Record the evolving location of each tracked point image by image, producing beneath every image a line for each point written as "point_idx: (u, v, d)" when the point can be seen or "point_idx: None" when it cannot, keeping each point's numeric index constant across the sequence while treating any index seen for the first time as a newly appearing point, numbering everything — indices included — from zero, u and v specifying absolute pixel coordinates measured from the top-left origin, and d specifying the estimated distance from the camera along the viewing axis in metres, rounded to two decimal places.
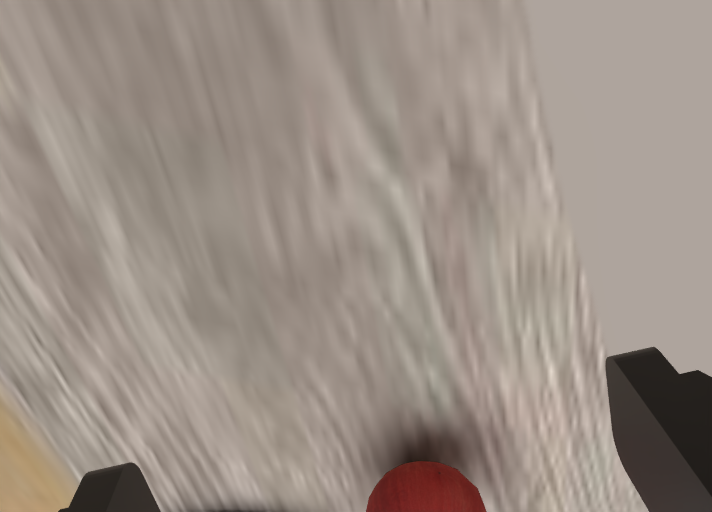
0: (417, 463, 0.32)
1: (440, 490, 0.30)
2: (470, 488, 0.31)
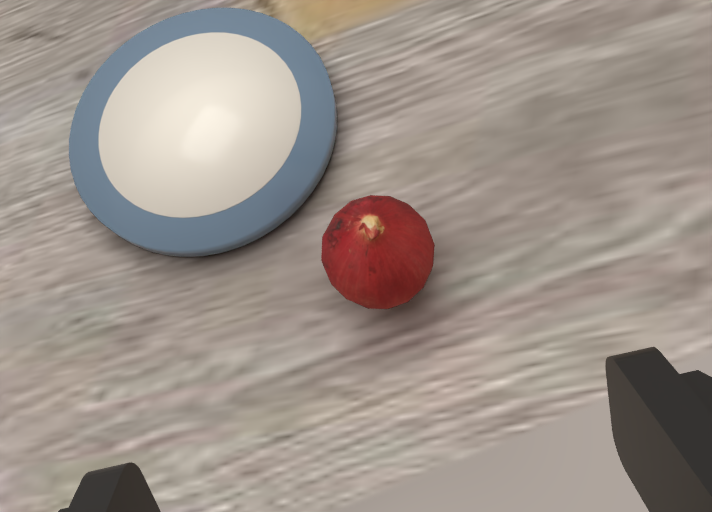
0: None
1: (431, 253, 0.34)
2: (420, 287, 0.34)
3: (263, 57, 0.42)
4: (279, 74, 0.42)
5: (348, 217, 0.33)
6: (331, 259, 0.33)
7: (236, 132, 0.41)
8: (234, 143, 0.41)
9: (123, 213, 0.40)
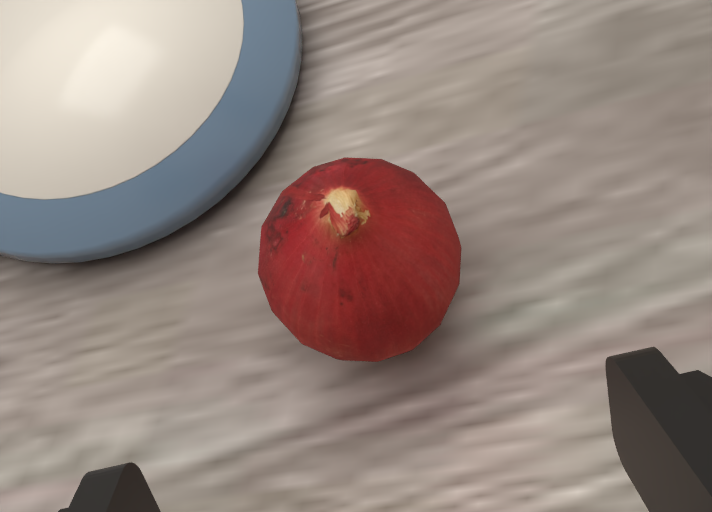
0: None
1: (456, 264, 0.19)
2: (434, 325, 0.19)
3: None
4: None
5: (302, 195, 0.17)
6: (272, 272, 0.18)
7: (139, 64, 0.25)
8: (135, 81, 0.25)
9: None
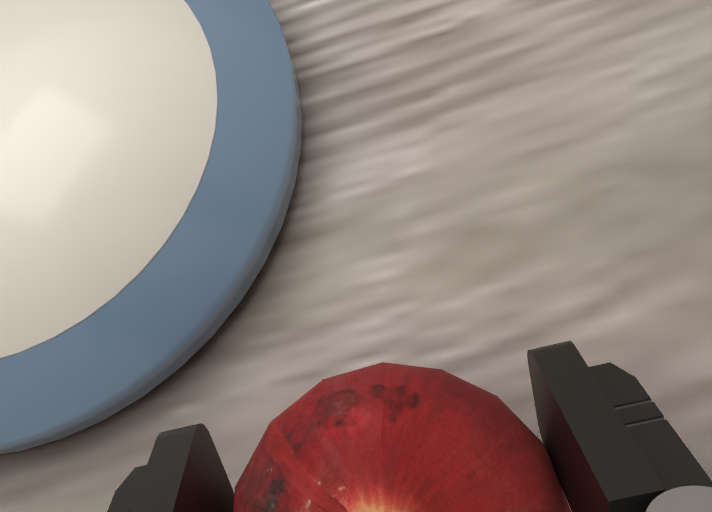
0: None
1: None
2: None
3: None
4: (174, 30, 0.19)
5: (306, 484, 0.09)
6: None
7: (67, 161, 0.18)
8: (60, 187, 0.17)
9: None
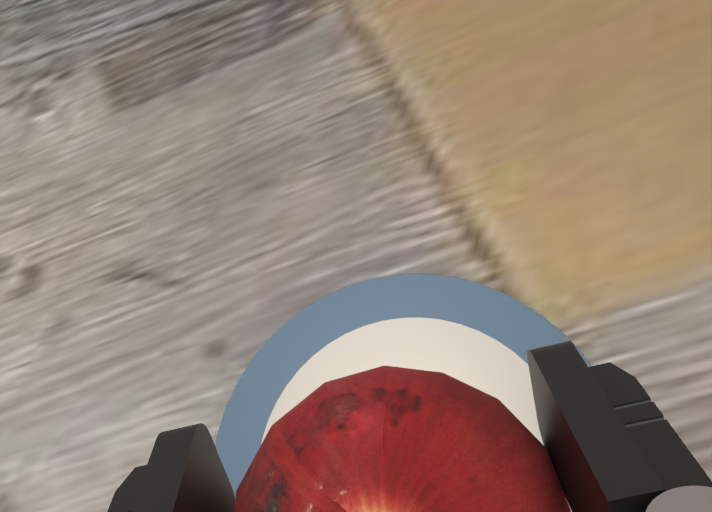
0: None
1: None
2: None
3: (509, 369, 0.28)
4: None
5: (307, 487, 0.09)
6: None
7: None
8: None
9: None
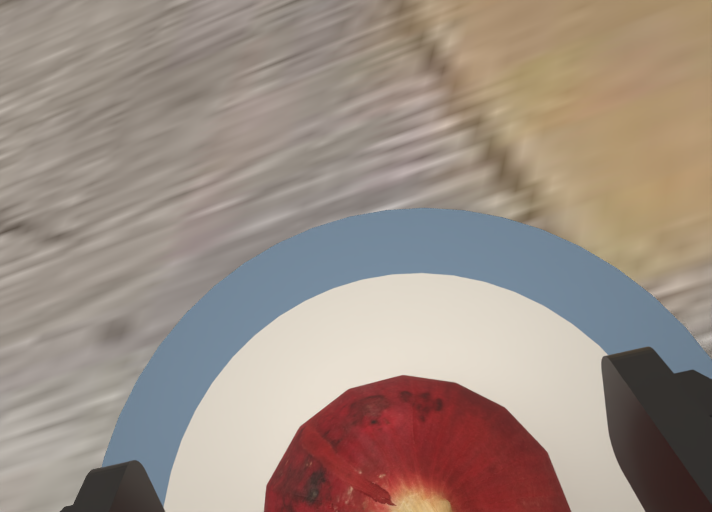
0: None
1: None
2: None
3: (565, 352, 0.17)
4: None
5: (347, 473, 0.10)
6: None
7: None
8: None
9: None
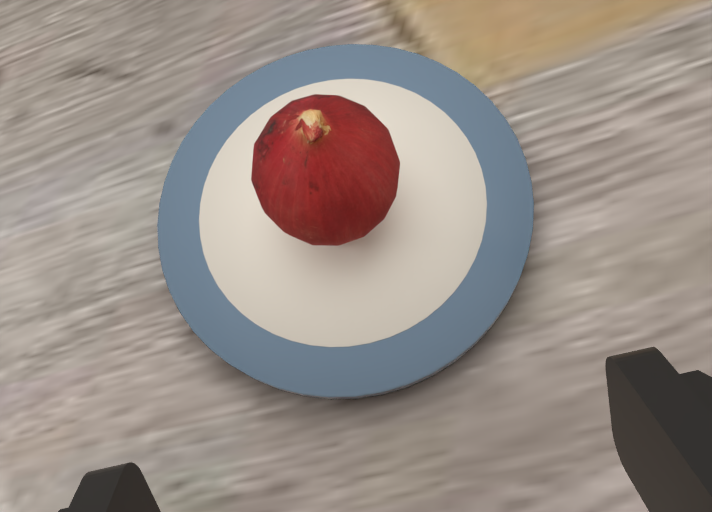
0: None
1: (395, 172, 0.26)
2: (379, 217, 0.26)
3: (425, 115, 0.31)
4: (449, 140, 0.31)
5: (284, 117, 0.24)
6: (261, 174, 0.25)
7: (396, 223, 0.30)
8: (394, 239, 0.29)
9: (241, 337, 0.29)
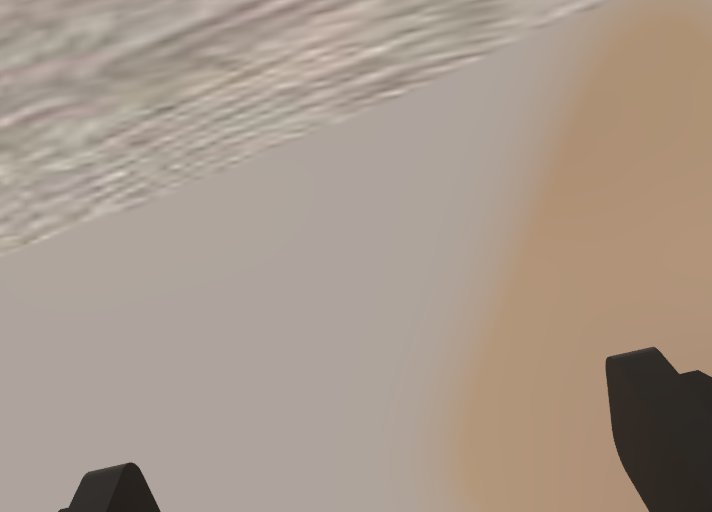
0: None
1: None
2: None
3: None
4: None
5: None
6: None
7: None
8: None
9: None
